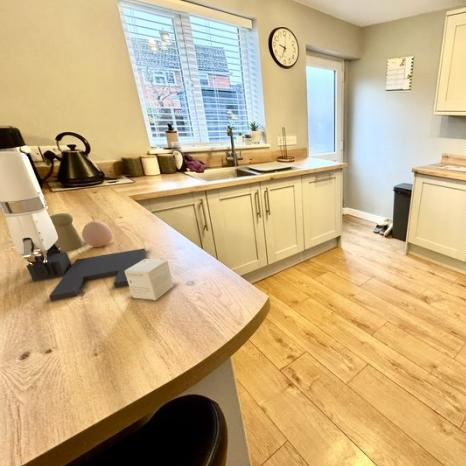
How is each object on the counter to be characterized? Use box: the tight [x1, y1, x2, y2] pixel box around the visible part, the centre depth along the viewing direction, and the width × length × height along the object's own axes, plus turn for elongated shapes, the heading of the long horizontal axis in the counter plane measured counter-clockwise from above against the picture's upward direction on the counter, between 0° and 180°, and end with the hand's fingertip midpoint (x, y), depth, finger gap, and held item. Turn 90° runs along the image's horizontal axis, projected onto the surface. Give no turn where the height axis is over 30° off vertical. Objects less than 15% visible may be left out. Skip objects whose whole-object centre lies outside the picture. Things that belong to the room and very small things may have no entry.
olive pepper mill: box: [49, 212, 85, 252], centre depth 89 cm, size 6×6×11 cm
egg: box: [81, 220, 114, 248], centre depth 90 cm, size 7×7×8 cm
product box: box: [125, 258, 174, 301], centre depth 67 cm, size 6×6×7 cm
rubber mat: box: [49, 248, 147, 302], centre depth 76 cm, size 16×20×2 cm
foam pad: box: [26, 251, 73, 282], centre depth 75 cm, size 6×6×4 cm
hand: (52, 270), depth 75 cm, fingers open, 6 cm apart
